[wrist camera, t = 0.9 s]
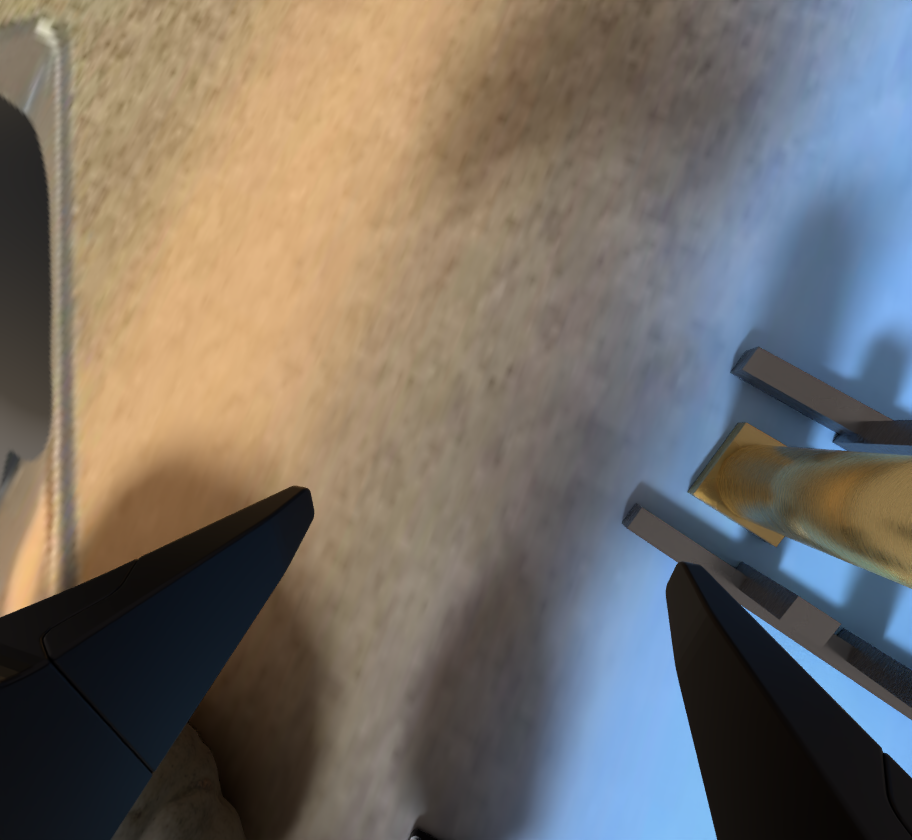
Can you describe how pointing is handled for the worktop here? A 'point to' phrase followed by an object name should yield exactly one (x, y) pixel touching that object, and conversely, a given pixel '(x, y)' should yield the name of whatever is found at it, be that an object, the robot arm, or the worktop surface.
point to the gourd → (183, 799)
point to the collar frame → (764, 595)
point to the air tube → (816, 499)
